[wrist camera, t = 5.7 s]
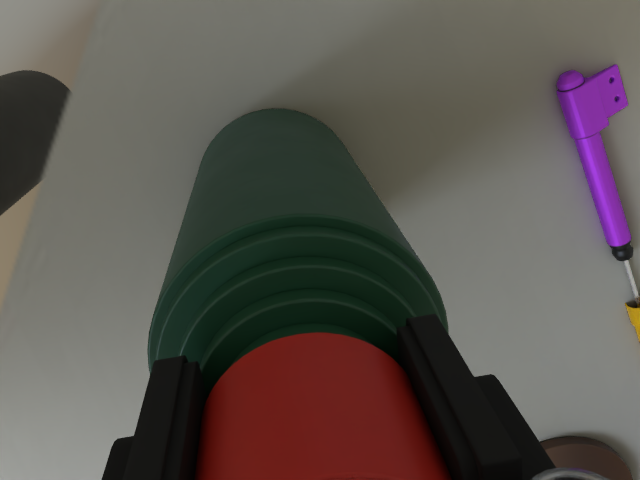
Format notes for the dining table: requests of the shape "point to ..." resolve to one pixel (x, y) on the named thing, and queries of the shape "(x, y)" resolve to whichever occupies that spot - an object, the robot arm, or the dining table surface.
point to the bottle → (284, 250)
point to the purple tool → (600, 156)
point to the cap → (316, 416)
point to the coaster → (587, 457)
